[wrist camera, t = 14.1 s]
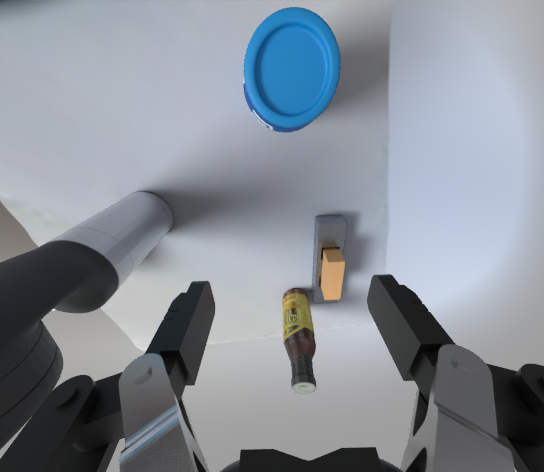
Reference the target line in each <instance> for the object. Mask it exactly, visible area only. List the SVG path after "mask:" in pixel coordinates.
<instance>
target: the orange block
mask: <svg viewBox="0 0 544 472" xmlns="http://www.w3.org/2000/svg"><path fill="white" fill-rule="evenodd" d="M322 252H323V263H322V275H321V276H320V279H321V289H322V293H323V296H324V300H340V296H341V289H342V282H343V275H344V268H345V260H344V258H343V256H342V254H341V252H340V250H339V249H337V248H336V247H323V248H322Z"/></svg>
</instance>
